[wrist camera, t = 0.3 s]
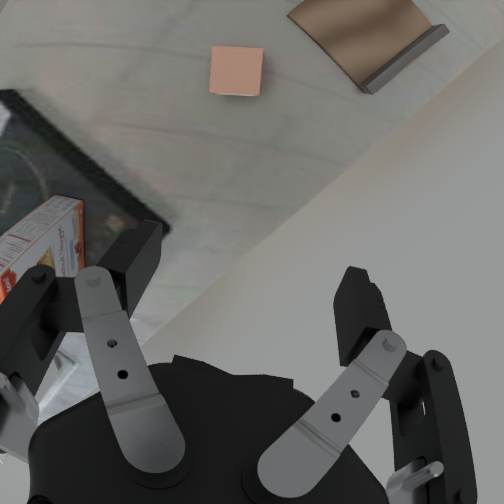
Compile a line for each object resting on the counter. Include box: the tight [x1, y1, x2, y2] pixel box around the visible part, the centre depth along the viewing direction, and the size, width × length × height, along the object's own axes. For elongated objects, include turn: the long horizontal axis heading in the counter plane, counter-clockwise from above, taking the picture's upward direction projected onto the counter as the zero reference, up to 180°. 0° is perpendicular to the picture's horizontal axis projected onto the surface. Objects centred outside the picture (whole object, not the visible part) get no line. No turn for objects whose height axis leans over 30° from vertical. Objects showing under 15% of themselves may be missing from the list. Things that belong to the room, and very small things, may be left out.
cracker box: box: [0, 194, 85, 304], centre depth 36 cm, size 14×6×21 cm, turn 166°
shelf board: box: [287, 0, 450, 95], centre depth 27 cm, size 13×14×4 cm
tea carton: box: [209, 46, 264, 96], centre depth 29 cm, size 5×5×9 cm
